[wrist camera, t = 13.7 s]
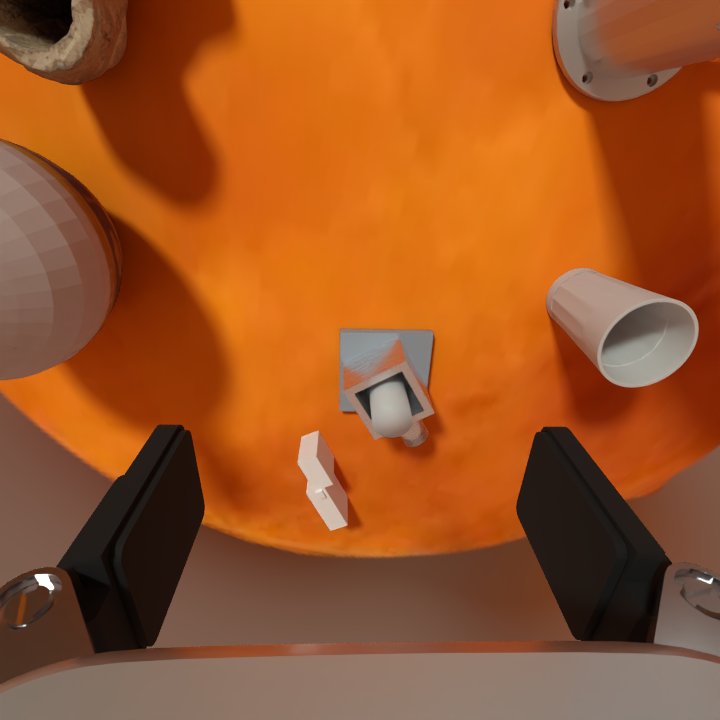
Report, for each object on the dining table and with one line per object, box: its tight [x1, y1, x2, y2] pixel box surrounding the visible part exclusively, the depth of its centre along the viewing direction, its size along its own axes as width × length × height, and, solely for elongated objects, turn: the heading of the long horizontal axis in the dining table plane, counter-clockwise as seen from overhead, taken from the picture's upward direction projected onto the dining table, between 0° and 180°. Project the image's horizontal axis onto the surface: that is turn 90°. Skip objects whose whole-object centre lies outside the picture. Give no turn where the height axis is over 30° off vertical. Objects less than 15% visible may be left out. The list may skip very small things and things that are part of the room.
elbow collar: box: [343, 335, 435, 447], centre depth 45 cm, size 10×7×6 cm, turn 28°
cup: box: [546, 268, 699, 388], centre depth 40 cm, size 8×8×12 cm
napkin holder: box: [298, 431, 348, 531], centre depth 52 cm, size 15×11×6 cm
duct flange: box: [340, 329, 434, 438], centre depth 44 cm, size 10×10×10 cm
